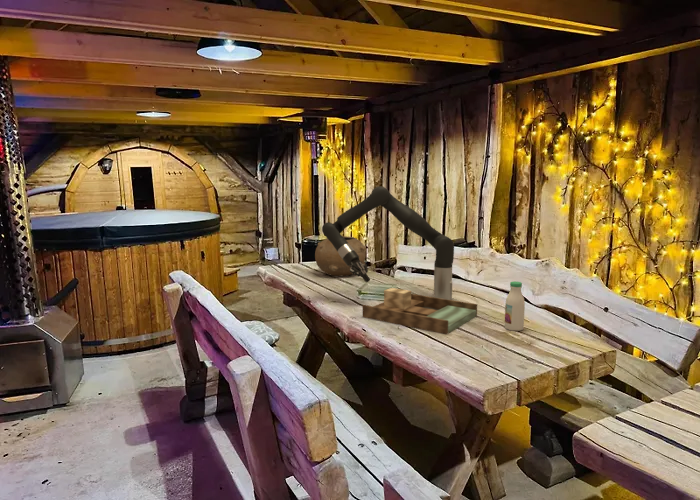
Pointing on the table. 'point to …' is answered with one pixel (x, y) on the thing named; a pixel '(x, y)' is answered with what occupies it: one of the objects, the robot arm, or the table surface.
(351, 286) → the table surface
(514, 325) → the milk bottle
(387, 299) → the maple block
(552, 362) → the table surface
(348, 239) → the ceramic pot
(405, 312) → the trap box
